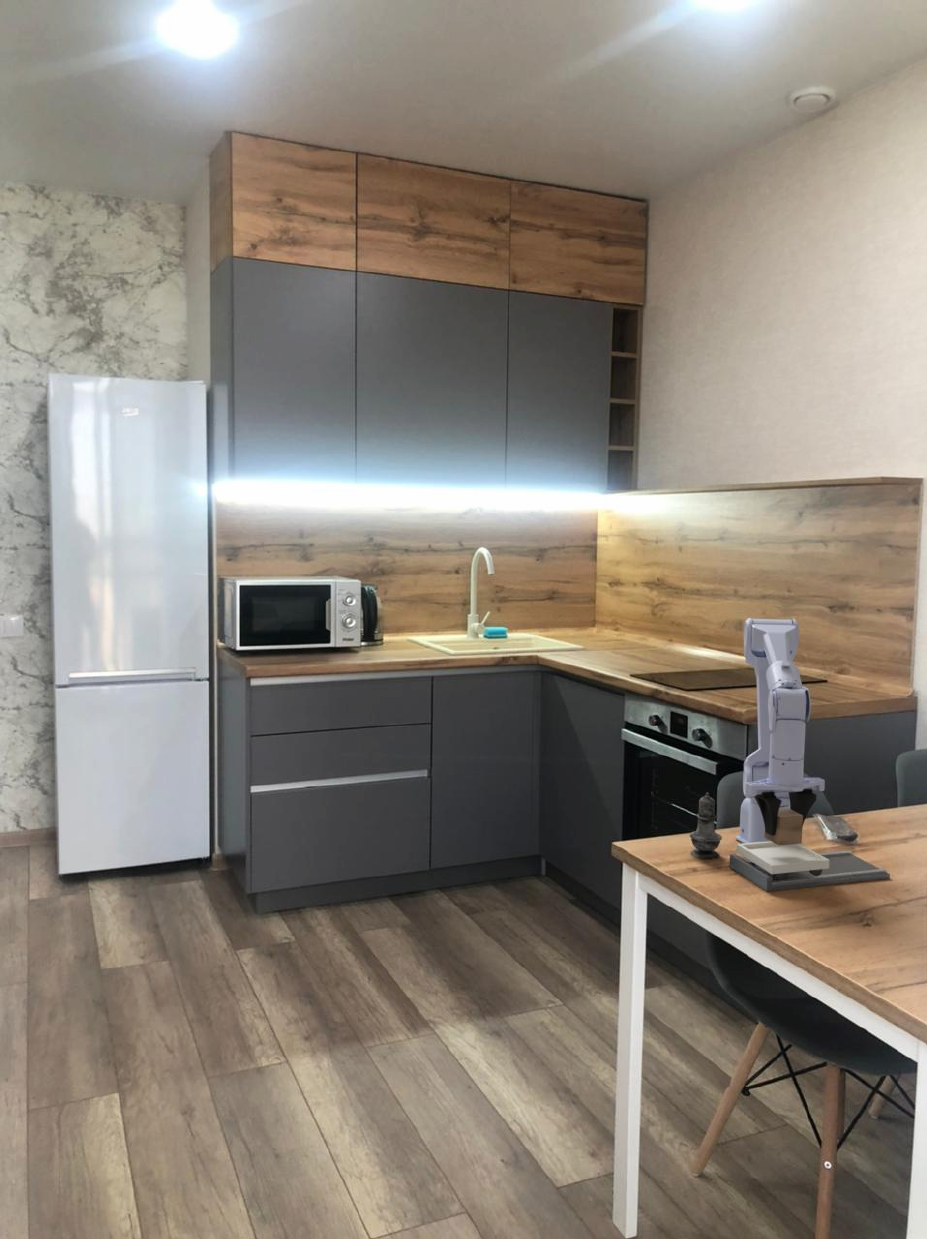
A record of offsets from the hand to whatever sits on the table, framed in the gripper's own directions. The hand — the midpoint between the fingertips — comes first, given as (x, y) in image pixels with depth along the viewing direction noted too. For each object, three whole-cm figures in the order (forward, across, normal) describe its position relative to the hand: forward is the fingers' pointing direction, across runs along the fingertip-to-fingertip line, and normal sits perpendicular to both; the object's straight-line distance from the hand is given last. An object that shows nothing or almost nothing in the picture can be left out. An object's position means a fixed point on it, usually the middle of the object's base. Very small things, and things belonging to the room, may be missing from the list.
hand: (783, 832), depth 176 cm
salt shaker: (+8, -8, +13) cm, 17 cm away
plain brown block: (+1, 0, 0) cm, 1 cm away
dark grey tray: (+8, +6, 0) cm, 10 cm away
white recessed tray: (+6, 0, 0) cm, 6 cm away
